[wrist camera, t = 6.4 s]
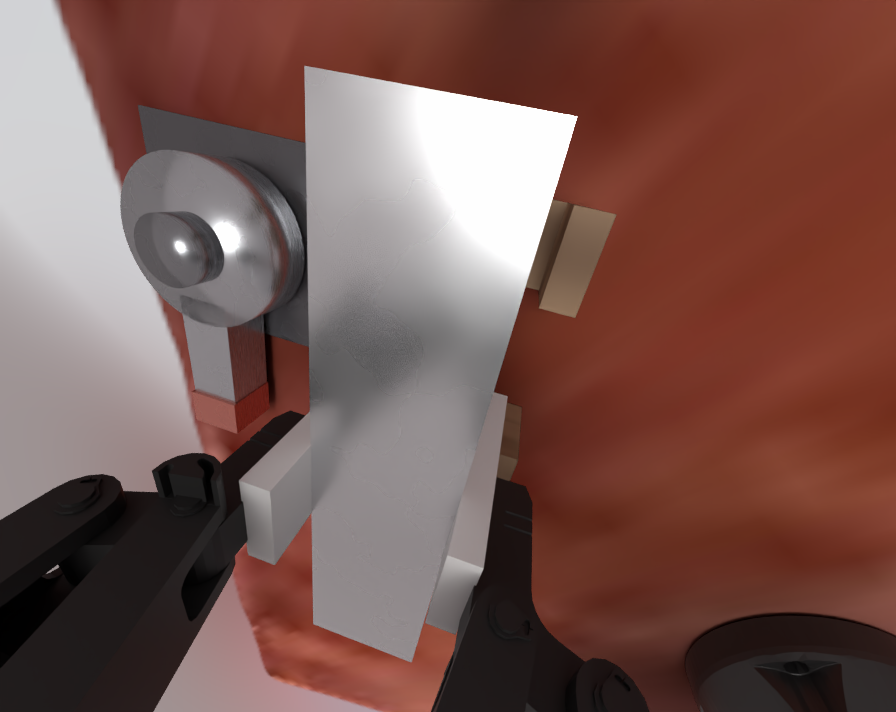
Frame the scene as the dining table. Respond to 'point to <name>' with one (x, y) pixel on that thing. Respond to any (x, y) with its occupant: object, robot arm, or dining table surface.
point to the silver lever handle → (215, 268)
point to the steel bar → (408, 324)
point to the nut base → (266, 155)
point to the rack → (558, 286)
